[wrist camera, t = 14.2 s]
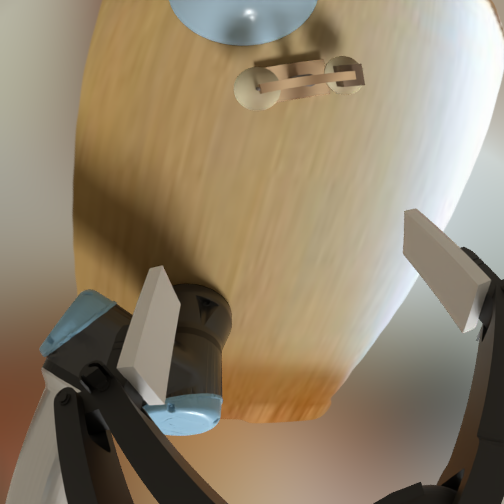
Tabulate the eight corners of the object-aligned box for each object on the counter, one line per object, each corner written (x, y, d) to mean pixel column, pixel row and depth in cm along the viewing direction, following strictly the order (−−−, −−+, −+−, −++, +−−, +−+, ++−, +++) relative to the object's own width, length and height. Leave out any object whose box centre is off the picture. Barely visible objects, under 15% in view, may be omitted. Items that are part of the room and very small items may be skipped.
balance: (238, 109, 37) (240, 118, 28) (229, 75, 35) (228, 70, 25) (350, 91, 36) (387, 96, 26) (343, 57, 34) (380, 51, 24)
